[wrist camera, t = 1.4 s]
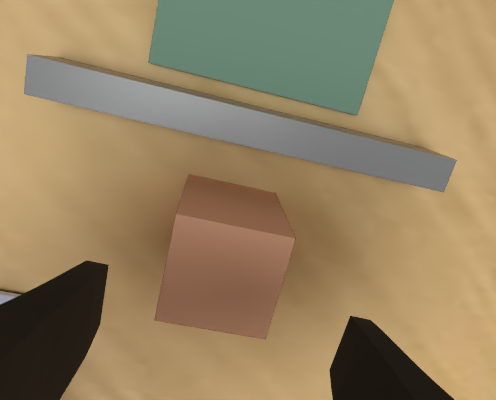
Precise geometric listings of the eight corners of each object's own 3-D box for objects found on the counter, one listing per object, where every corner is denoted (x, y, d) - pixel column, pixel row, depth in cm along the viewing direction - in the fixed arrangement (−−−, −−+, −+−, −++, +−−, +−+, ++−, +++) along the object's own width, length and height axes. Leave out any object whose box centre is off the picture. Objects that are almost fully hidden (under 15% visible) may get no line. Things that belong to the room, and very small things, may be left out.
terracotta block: (254, 270, 22) (265, 339, 16) (171, 254, 22) (154, 320, 16) (275, 192, 21) (295, 238, 15) (188, 173, 20) (176, 213, 15)
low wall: (413, 175, 21) (443, 192, 18) (54, 90, 19) (24, 93, 16) (424, 147, 21) (456, 160, 18) (57, 57, 18) (27, 54, 15)
